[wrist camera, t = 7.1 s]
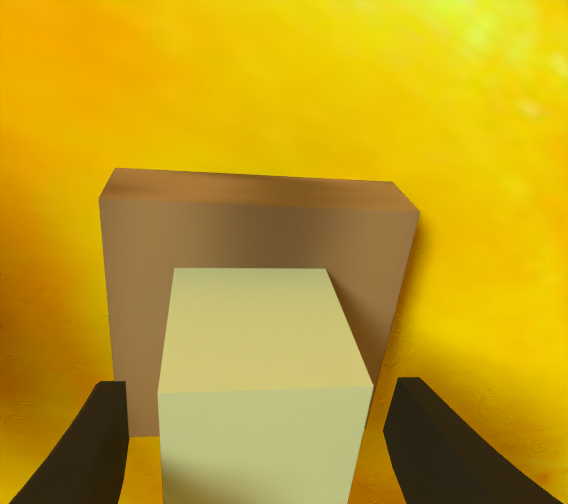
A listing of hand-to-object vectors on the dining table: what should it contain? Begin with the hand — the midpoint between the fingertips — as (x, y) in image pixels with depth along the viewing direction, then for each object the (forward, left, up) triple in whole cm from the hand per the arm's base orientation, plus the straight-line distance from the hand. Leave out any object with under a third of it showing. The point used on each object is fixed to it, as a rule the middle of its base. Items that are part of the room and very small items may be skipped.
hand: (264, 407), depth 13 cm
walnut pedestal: (0, 0, -6) cm, 6 cm away
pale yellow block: (0, 0, -3) cm, 3 cm away
